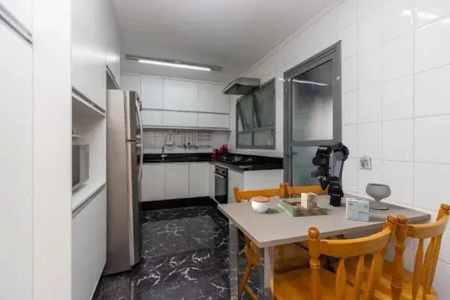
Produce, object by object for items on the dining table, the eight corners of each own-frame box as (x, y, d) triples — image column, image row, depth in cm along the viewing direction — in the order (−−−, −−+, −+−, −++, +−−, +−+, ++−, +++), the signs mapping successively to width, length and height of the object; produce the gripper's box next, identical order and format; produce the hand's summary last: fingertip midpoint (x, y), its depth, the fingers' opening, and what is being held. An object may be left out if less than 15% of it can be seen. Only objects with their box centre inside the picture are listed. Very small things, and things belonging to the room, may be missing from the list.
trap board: (308, 206, 154) (309, 198, 154) (326, 214, 137) (327, 205, 137) (277, 208, 148) (277, 200, 148) (292, 216, 131) (292, 207, 131)
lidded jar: (273, 211, 140) (273, 195, 140) (262, 215, 132) (263, 198, 132) (258, 208, 148) (258, 193, 147) (247, 211, 140) (247, 195, 139)
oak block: (310, 205, 148) (311, 192, 147) (317, 207, 142) (317, 194, 142) (301, 205, 146) (301, 192, 146) (306, 208, 140) (307, 194, 140)
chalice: (375, 204, 164) (376, 182, 163) (395, 209, 151) (396, 186, 150) (359, 205, 159) (360, 183, 159) (379, 211, 146) (380, 187, 146)
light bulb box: (366, 218, 131) (367, 199, 131) (369, 222, 125) (370, 201, 125) (344, 216, 135) (345, 197, 135) (346, 219, 129) (347, 199, 128)
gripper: (304, 164, 153) (303, 188, 153) (323, 166, 135) (322, 194, 135) (318, 163, 156) (318, 187, 156) (339, 166, 138) (338, 193, 138)
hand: (323, 190), depth 146 cm, fingers closed
